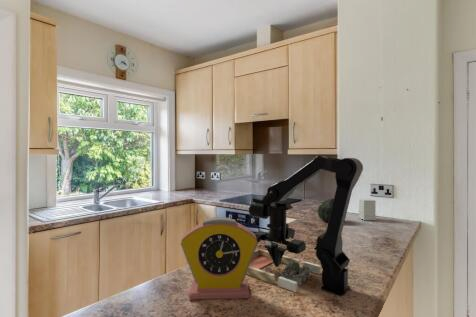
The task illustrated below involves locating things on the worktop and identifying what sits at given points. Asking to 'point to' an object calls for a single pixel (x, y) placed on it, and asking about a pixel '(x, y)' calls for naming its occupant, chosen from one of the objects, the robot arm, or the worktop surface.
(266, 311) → the worktop surface
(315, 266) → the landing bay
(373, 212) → the supplement box
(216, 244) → the retro mantel clock
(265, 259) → the channel
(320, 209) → the squash
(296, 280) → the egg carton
